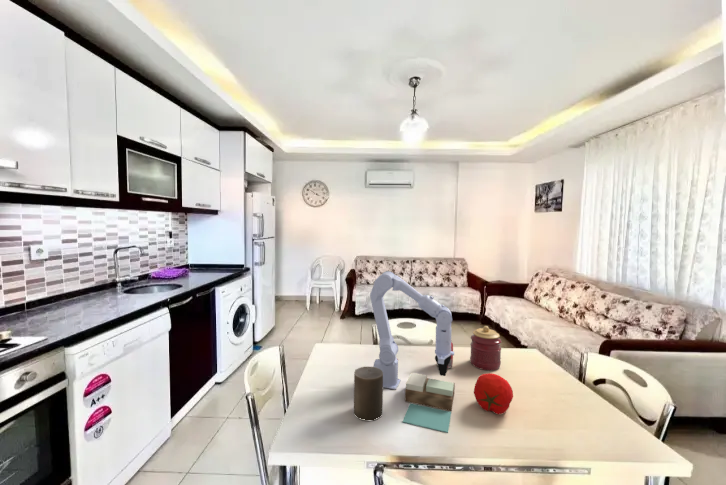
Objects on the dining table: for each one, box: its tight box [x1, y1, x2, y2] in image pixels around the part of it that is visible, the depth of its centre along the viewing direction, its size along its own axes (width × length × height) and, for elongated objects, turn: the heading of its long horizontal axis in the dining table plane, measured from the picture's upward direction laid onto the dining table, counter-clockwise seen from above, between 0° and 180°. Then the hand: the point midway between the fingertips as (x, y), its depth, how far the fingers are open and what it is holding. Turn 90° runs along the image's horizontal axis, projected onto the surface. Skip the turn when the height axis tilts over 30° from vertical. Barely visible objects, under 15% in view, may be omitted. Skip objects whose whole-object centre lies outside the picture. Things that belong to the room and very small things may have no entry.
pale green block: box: [426, 378, 455, 396], centre depth 111 cm, size 9×6×2 cm, turn 69°
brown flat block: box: [404, 377, 456, 412], centre depth 114 cm, size 16×12×4 cm
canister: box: [469, 325, 503, 371], centre depth 141 cm, size 13×13×18 cm
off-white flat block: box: [405, 372, 428, 392], centre depth 115 cm, size 9×6×2 cm, turn 159°
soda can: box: [447, 339, 454, 370], centre depth 139 cm, size 7×7×12 cm
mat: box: [402, 402, 452, 434], centre depth 102 cm, size 14×11×1 cm
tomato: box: [473, 372, 514, 415], centre depth 107 cm, size 13×13×13 cm
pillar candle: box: [353, 366, 384, 421], centre depth 104 cm, size 10×10×15 cm
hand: (442, 374), depth 118 cm, fingers closed
